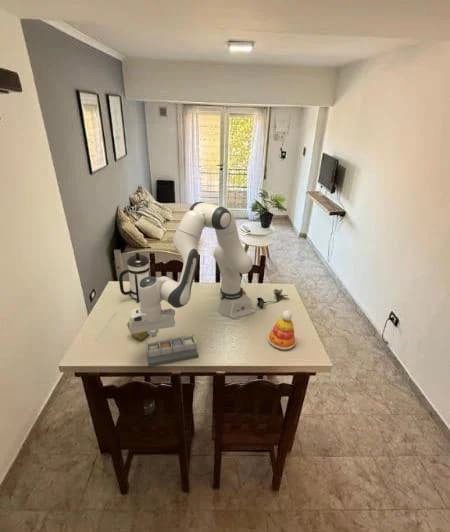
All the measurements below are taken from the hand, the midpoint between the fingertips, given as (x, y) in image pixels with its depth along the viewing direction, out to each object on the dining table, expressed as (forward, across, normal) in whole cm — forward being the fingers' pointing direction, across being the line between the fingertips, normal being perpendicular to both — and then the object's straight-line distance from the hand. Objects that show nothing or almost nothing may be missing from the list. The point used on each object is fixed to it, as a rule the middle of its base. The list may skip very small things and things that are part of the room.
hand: (153, 336), depth 140 cm
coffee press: (+12, +4, -53) cm, 54 cm away
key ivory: (+11, -16, 0) cm, 19 cm away
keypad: (+12, -8, 0) cm, 14 cm away
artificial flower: (+13, -75, -28) cm, 81 cm away
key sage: (+11, 0, 0) cm, 11 cm away
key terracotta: (+11, -5, 0) cm, 12 cm away
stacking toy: (+13, -63, +7) cm, 65 cm away
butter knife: (+12, +22, -29) cm, 39 cm away
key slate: (+10, -11, 0) cm, 15 cm away
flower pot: (+12, +6, -16) cm, 20 cm away
